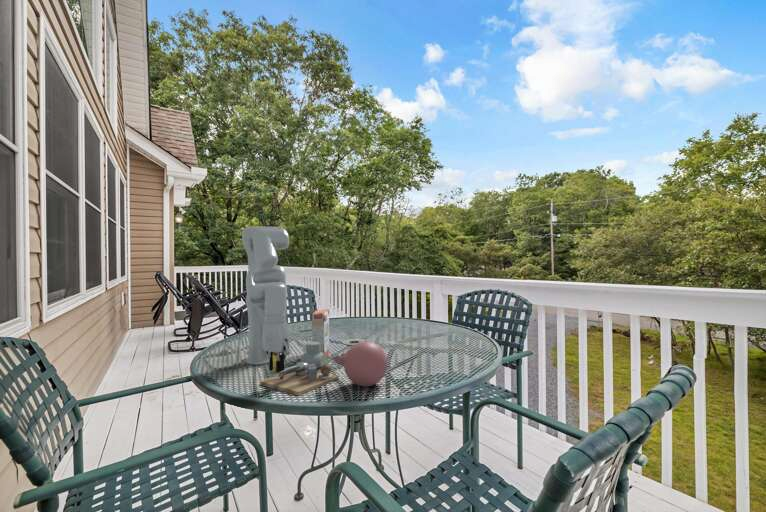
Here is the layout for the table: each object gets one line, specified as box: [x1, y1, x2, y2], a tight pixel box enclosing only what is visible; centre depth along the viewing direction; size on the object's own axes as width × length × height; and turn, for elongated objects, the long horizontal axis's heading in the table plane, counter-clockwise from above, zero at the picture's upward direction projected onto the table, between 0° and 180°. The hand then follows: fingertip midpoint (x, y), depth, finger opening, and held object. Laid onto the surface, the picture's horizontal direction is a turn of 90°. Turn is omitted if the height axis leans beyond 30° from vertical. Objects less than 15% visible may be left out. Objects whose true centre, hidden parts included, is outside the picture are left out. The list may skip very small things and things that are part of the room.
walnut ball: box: [319, 363, 332, 375], centre depth 139 cm, size 4×4×4 cm
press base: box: [259, 364, 339, 397], centre depth 137 cm, size 20×20×6 cm
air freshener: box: [300, 341, 327, 369], centre depth 156 cm, size 11×8×10 cm
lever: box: [272, 352, 308, 377], centre depth 138 cm, size 16×4×9 cm, turn 145°
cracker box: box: [311, 308, 330, 357], centre depth 172 cm, size 14×6×21 cm, turn 179°
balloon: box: [331, 340, 388, 387], centre depth 133 cm, size 15×20×15 cm
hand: (276, 369), depth 133 cm, fingers closed on lever, 2 cm apart
